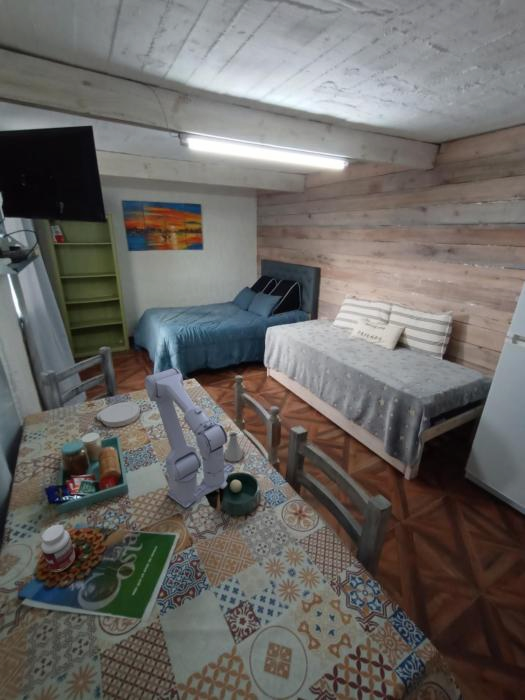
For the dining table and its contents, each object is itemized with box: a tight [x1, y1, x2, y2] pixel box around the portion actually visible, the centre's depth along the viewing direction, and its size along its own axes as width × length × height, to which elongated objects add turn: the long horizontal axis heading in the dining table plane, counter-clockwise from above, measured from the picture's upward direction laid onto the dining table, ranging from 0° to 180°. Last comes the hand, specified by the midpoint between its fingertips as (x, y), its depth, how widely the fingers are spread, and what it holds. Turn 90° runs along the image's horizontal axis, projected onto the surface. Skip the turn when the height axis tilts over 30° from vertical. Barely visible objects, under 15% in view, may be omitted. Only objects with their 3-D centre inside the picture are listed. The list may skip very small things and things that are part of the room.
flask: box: [224, 431, 244, 463], centre depth 122 cm, size 7×7×10 cm
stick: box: [213, 488, 222, 512], centre depth 90 cm, size 2×2×8 cm
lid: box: [96, 401, 141, 428], centre depth 149 cm, size 17×20×3 cm
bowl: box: [220, 471, 260, 517], centre depth 104 cm, size 13×13×5 cm
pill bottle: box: [41, 524, 76, 573], centre depth 83 cm, size 6×6×11 cm
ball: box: [230, 480, 242, 493], centre depth 106 cm, size 4×4×4 cm
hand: (216, 503), depth 91 cm, fingers closed on stick, 2 cm apart
